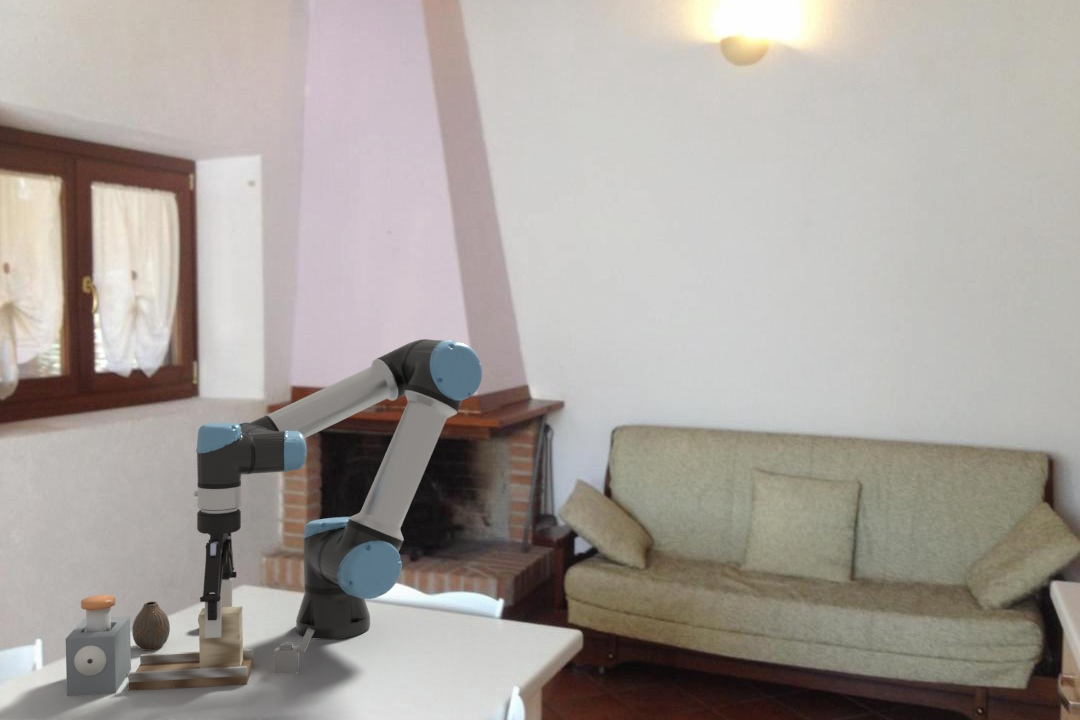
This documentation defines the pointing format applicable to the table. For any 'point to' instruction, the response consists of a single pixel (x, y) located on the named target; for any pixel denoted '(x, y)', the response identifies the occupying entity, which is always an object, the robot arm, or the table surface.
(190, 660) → the rail board
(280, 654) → the lighter
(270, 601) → the table surface
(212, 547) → the robot arm
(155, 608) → the vase
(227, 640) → the beige wooden block
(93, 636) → the cabinet
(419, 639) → the table surface
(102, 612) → the plunger
